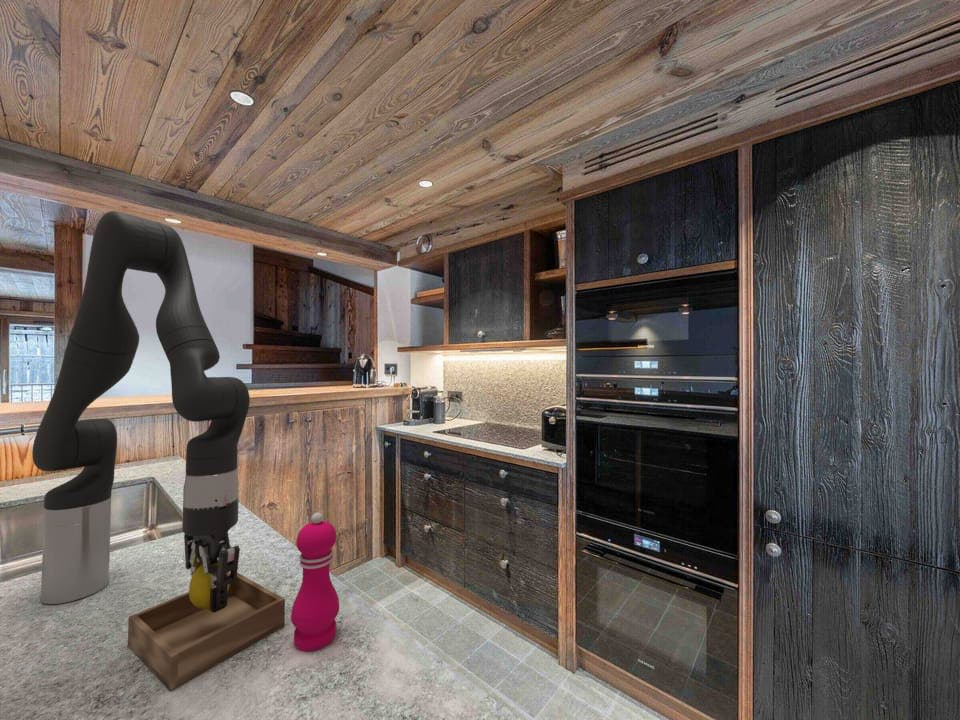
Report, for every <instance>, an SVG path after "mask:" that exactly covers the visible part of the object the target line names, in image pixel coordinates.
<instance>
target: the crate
mask: <svg viewBox="0 0 960 720" xmlns="http://www.w3.org/2000/svg"><path fill="white" fill-rule="evenodd" d="M285 607H286V598H285V597H282V596H281V595H279V594H277V593H275V592H273V591H272V590H271V589H268V588H266V587H264V586H262V585H260V584H259V583H257V582H255V581H254V580H251V579H250V578H248V577H246V576H245V575H242V574H240V573H239V572H237V578H236V582H234V583H231V584H230V585H229V590H228V592H227V606H226V607H225V608H223V609H221V610H219V611H217V612H212V611H210V610H206V609H201V608H198V607H196V606H194V605H193V603H192V602H191V600H190V597H189V591H188V592H185V593H183V594H180V595H178V596H176V597H173V598H171V599H168V600H166V601H163V602H161V603H159V604H156V605H154V606H151V607H149V608H146V609H144V610H142V611H140V612H136V613H134V614H131V615H130V616H128V618H127V619H128V621H127V622H128V626H127V647H128V648H129V649H130V650H131V651H132V652H133V654H135V655H136V656H137V657H138V658H139V660H141V662H142V663H143V664H144V665H145V666H146V667H147V668H148V669H149V670H150V671H151V672H152V674H154V676H155V677H156V678H157V679H158V680H159V681H160V682H161V684H163V685H164V686H165V688H167V689H168V690H169V692H172V691H173V690H175V689H177V688H179V687H180V686H182V685H184V684H186V683H188V682H189V681H191V680H193V679H194V678H197V677H198V676H199V675H202V674H203V673H205V672H206V671H209V670H210V669H212V668H213V667H215V666H217V665H218V664H220V663H222V662H224V661H227V659H230V658H231V657H233V656H235V655H236V654H238V653H240V652H241V651H244V650H245V649H247V648H249V647H250V646H253V644H255V643H257V642H259V641H260V640H262V639H264V638H266V637H267V636H269V635H271V634H273V633H275V632H277V631H278V630H280V629H282V628H283V627H285V623H286V622H285V621H286V620H285V615H286V608H285ZM185 682H186V683H185Z"/></svg>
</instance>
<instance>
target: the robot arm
mask: <svg viewBox="0 0 960 720" xmlns="http://www.w3.org/2000/svg"><path fill="white" fill-rule="evenodd" d="M187 255H188V254H187V251H186V247H185V246H184V242H183V240H182V237H181V236H180V235H179V233H178V232H177V231H176V229H174V228H173V227H171V226H169V225H167V224H164V223H162V222H158V221H155V220H152V219H151V220H150V219H148V218H145V217H141V216H138V215H134V214H131V213H126V212H122V211H116V210H111V211H110V210H109V211H108V212H106V213H104V214H103V215H102V216H101V218H100V219H99V220H98V223H96V226H95V230H94V232H93V236H92V241H91V246H90V252H89V258H88V264H87V271H86V275H85V277H86V278H85V282H84V287H83V292H82V295H81V300H80V303H79V307H78V310H77V313H76V317H75V318H74V319H75V320H74V322H73V325H72V327H71V331H70V334H69V337H68V340H67V342H66V343H67V344H66V346H65V350H64V354H63V358H62V362H61V366H60V371H59V374H58V378H57V382H56V384H55V388H54V391H53V393H52V396H51V399H50V401H49V403H48V406H47V408H46V409H45V413H44V414H43V417H42V419H41V422H40V424H39V426H38V429H37V431H36V434H35V437H34V440H33V444H32V452H31V453H32V462H33V464H34V465H35V467H36V468H37V469H38V470H40V471H43V472H57V471H58V472H59V471H65V470H72V469H78V468H83V469H82V470H81V472H80V473H79V474H77V475H76V476H75V477H73V478H71V479H70V480H68V481H67V482H64V483H62V484H60V485H58V486H56V487H54V488H51V489H49V491H47V492H46V493H45V495H44V498H43V522H42V523H43V526H42V529H43V530H42V531H43V532H42V553H41V554H42V555H41V556H42V558H41V559H42V560H41V563H42V564H41V585H40V587H41V588H40V603H42V604H44V605H59V604H65V603H69V602H74V601H76V600H77V601H78V600H81V599H83V598H85V597H88V596H91V595H94V594H95V593H97V592H99V591H101V590H103V589H104V588H105V587H107V585H108V584H109V583H110V580H109V579H110V561H111V558H110V555H111V553H110V552H111V526H112V525H111V523H112V521H111V519H112V518H111V517H112V490H113V489H112V488H113V485H114V482H115V468H116V458H117V449H118V432H117V429H116V427H115V424H114V423H113V421H111V420H109V419H108V418H89V419H80V418H81V416H82V415H83V413H84V411H85V410H86V409H87V408H88V407H89V406H90V405H91V404H92V403H94V402H95V401H96V400H97V399H98V398H100V397H102V396H103V394H105V393H106V392H108V391H109V390H110V389H112V388H113V387H115V385H116V384H117V383H119V382H120V381H121V380H122V379H123V378H124V377H125V376H126V375H127V374H128V373H129V372H130V370H131V368H132V365H133V362H134V359H135V357H136V353H137V351H138V347H139V344H140V334H139V330H138V327H137V326H136V323H135V321H134V320H133V317H132V315H131V313H130V312H129V310H128V308H127V306H126V303H125V301H124V298H123V293H122V291H123V282H124V278H125V276H126V275H125V274H126V272H127V270H133V271H140V272H145V273H151V274H156V275H157V276H158V278H159V279H160V280H161V282H162V284H163V287H164V297H163V300H162V302H161V305H160V306H159V309H158V312H157V315H156V319H155V329H156V335H157V337H158V340H159V342H160V344H161V347H162V349H163V351H164V353H165V356H166V358H167V360H168V362H169V370H170V382H171V384H170V385H171V401H172V404H173V408H174V409H175V411H176V412H177V413H178V414H179V416H180V417H182V418H183V419H184V420H187V421H189V422H195V423H197V422H206V421H210V423H209V426H208V428H207V430H205V431H204V432H202V433H201V434H198V435H196V436H193V437H191V439H189V441H188V442H187V445H186V448H185V449H186V450H185V475H184V477H185V479H184V484H183V492H182V494H183V495H182V501H183V502H182V529H181V530H182V532H183V535H184V536H183V538H184V555H185V568H186V570H187V571H188V570H190V571H189V574H190V576H191V577H192V576H193V574H194V572H195V571H196V570H197V569H198V568H199V567H200V566H201V565H202V564H203V566H204V572H205V574H206V575H209V580H210V587H211V588H210V611H212V612H217V611H219V610H221V609H223V608H225V607H226V606H227V588H228V584H231V583H234V582H236V578H237V573H238V568H239V559H240V549H241V548H240V546H239V545H235V546H231V544H230V543H231V542H230V537H229V531H230V529H231V528H232V527H235V525H237V523H238V521H239V494H240V493H239V492H240V491H239V486H240V485H239V484H240V483H239V481H240V480H239V474H238V473H239V472H238V450H239V449H238V445H239V441H240V438H241V435H242V432H243V429H244V425H245V422H246V420H247V419H246V418H247V416H248V412H249V408H250V401H251V400H250V399H251V398H250V393H249V389H248V387H247V385H246V384H245V383H244V381H242V380H241V379H239V378H238V377H233V376H209V377H207V375H206V372H205V371H208V370H210V369H212V368H213V367H216V365H217V364H218V363H219V362H220V357H221V355H220V352H219V349H218V347H217V344H216V342H215V339H214V338H213V336H212V334H211V331H210V330H209V327H208V325H207V323H206V321H205V317H204V315H203V313H202V310H201V307H200V304H199V301H198V297H197V293H196V287H195V284H194V279H193V275H192V271H191V267H190V264H189V259H188V256H187ZM217 562H218V566H215V567H212V566H211V565H212V564H215V563H217ZM216 571H217V578H216V574H215V573H216Z"/></svg>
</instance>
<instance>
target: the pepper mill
mask: <svg viewBox="0 0 960 720" xmlns="http://www.w3.org/2000/svg"><path fill="white" fill-rule="evenodd" d="M310 517H311V518H310V520H311V521H310V522H308V523H307V524H305V525H304V526H303V527H302V528H301V529H300V530H299V532H298V533H297V537H296V549H297V550H298V552H299V553H300V555H299V562H298V563H299V566H300V567H301V568H302V580H301V584H300V587H299V590H298V592H297V594H296V596H295V598H294V601H293V605H292V606H291V613H290V614H291V615H290V621H291V624H292V625H293V626H294V627H295V629H294V632H293V635H294V636H293V645H294V646H295V648H296V649H297V650H300V651H303V652H310V651H312V652H313V651H316V650H319V649H322V648H324V647H326V646H328V645H329V644H330V643H332V641H333V640H334V638H335V637H336V634H337V622H336V618H337V616H338V614H339V611H340V599H339V595H338V592H337V590H336V588H335V586H334V584H333V583H332V580H331V577H330V567H331V563H332V561H333V560H334V557H333V554H334V551H333V549H332V548H333V547H334V546H335V543H336V541H337V530H336V528H335V526H334V525H333V524H332V523H330V522H329V521H327V520H323V519H324V516H323V514H322V513H321V512H314V513H313V514H312V515H311V516H310Z"/></svg>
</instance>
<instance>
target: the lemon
mask: <svg viewBox="0 0 960 720" xmlns="http://www.w3.org/2000/svg"><path fill="white" fill-rule="evenodd" d="M211 566H212V567H215V566H218V562H217V563H215V564H212V565H211ZM215 574H216V578H217V571H216V573H215ZM190 578H191V579H190V582H189V587H188V592H189V597H190V600H191V602H192V603H193V605H194V606H196V607H198V608H201V609H206V610H210V588H211V587H210V580H209V575H206V574H205V572H204V566H203V564H202V565H201V566H200V567H199V568H198V569H197V570H196V571H195V572H194V574H193V576H191V577H190ZM229 585H230V584H228V588H227V592H228V590H229Z"/></svg>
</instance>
